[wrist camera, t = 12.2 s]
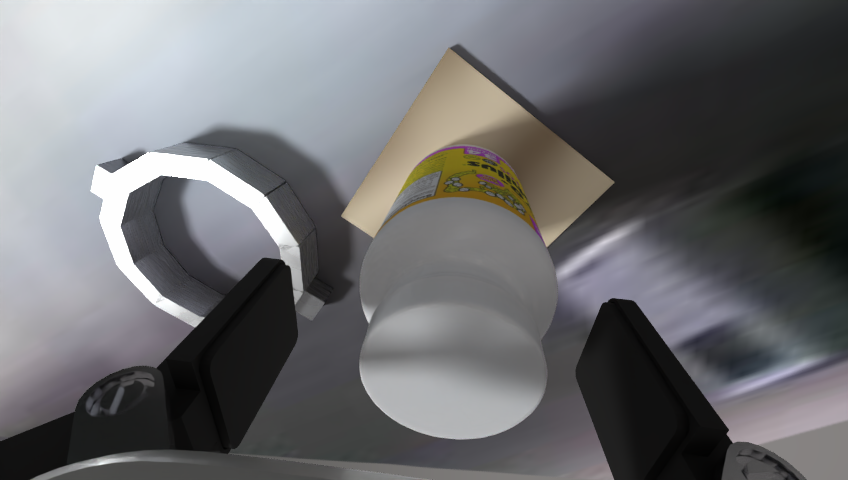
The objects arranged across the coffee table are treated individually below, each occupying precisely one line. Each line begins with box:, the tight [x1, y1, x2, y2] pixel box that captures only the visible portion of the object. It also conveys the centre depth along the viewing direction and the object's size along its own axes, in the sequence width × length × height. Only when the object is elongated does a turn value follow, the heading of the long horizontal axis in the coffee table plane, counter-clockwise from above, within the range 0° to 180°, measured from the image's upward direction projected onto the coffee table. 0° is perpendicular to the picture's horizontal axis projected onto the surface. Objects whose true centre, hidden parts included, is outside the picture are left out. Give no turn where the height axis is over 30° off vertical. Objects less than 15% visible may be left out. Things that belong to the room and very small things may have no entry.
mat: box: [341, 48, 615, 247], centre depth 20 cm, size 11×11×1 cm
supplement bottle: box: [359, 144, 558, 439], centre depth 14 cm, size 7×7×13 cm
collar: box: [91, 143, 333, 327], centre depth 22 cm, size 15×12×2 cm
